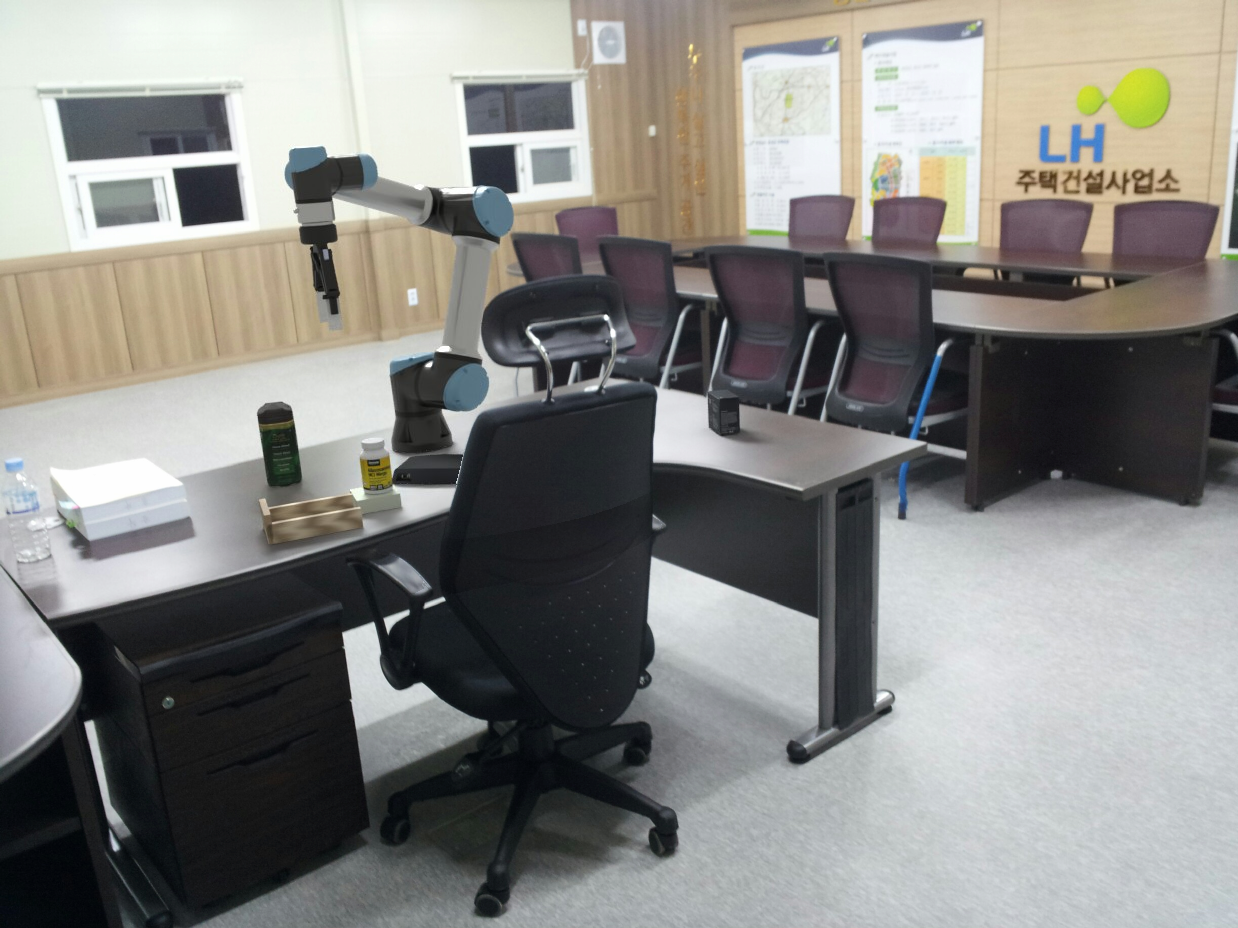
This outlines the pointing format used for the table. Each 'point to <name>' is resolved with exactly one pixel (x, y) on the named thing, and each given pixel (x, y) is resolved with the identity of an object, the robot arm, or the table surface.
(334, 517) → the tray
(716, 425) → the box
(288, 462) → the coffee jar
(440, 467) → the external hard drive
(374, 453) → the pill bottle
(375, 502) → the stand
